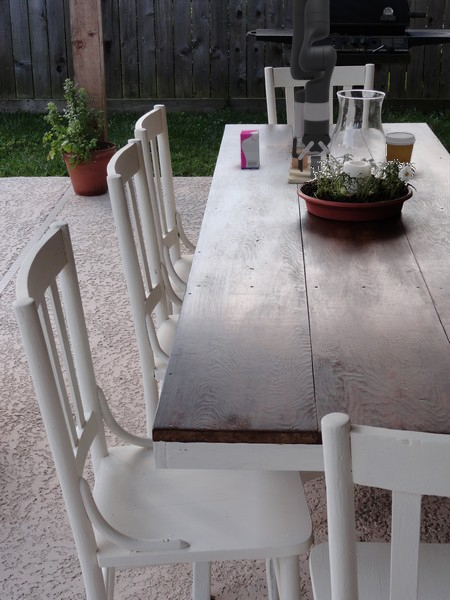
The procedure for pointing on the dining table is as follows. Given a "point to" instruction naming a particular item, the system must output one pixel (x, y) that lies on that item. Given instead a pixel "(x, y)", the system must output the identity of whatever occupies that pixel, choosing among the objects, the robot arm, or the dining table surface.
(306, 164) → the terracotta pot
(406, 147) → the disposable coffee cup
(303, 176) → the birch board
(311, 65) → the robot arm
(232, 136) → the dining table surface
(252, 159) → the supplement box
